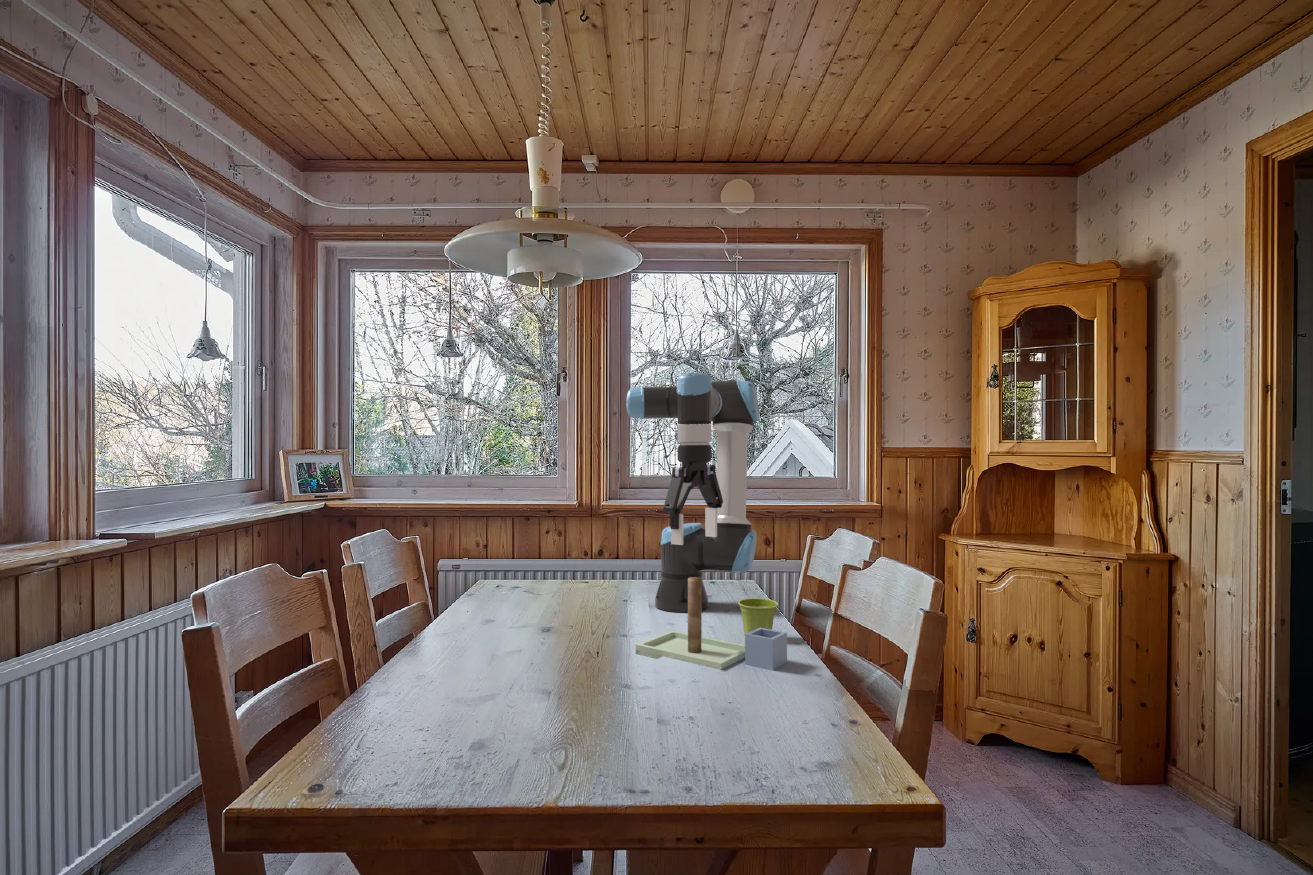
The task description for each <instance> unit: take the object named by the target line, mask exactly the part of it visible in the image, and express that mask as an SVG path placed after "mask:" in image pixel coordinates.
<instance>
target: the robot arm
mask: <svg viewBox="0 0 1313 875" xmlns="http://www.w3.org/2000/svg"><path fill="white" fill-rule="evenodd" d="M756 390H757V389H756V388H755V385H754V383H753V382H752V381H749V380H738V379H737V380H720V381H719V380H716V381H715V380H714V381H712V377H711V375H710V374H708V373H701V372H700V373H682V374H680V375H679V376H678V377H677V386H645V387H644V386H639V387H631V388H629V390H628V391H627V394H626V401H625V402H626V412H627V414H628V416H629V417H630V418H632V419H641V420H645V419H650V420H651V419H677V442H678V443H679V444H680V445H678V446H677V447H676V448H677V449H676V450H677V451H676V452H677V453H676V454H677V461H678V462H680V463H681V466H673V467H672V469H671V479H670V483H669V486H668V489H667V494H666V497H665V500H664V504H663V511H664V512H665V513H666V514H669V517H670V518H669V519H670V520H669V522H670V524H669V525H668V526H666V527H665V528H663V529H662V531H661V541H660V554H661V555H660V561H661V563H660V564H661V565H660V567H661V568H660V574H661V575H660V582H659V585H658V587H657V592H656V595H655V598H654V606H655V607H656V609H659V610H661V611H666V612H674V613H688V578H689V577H699V578H701V611H703V610H707V608H709V596H708V594H707V590H706V587H705V584H704V581H703V571H711V572H724V573H725V572H730V573H745V572H746V573H747V572H748V571H750V570H751V568H752V567H753V563H754V561H755V560H754V559H755V554H756V549H757V548H756V547H757V542H758V541H757V539H758V538H757V537H758V534H757V531H756V530H755V529H752V523H751V521H749V519H748V518H747V479H748V478H747V476H748V438H749V437H748V436H749V435H748V434H749V433H750V432H751V430H753V428H754V422H755V423H756V422H759V420H760V408H759V400H758V395H757V391H756ZM712 428H713V429H714V430H715V431H716V433H717V438H716V439H717V440H716V442H717V443H716V444H717V445H716V446H717V447H716V465H715V464H708V463H709V462H712V456H713V454H712V452H713V451H712V449H713V448H712V446H711V444H710V443H712V441H713V440H712V437H713V436H712V434H713V433H712ZM696 487H697V488H698V489H699V491H700V493H701V495H702V499H703V500H704V501H705V504H706V505H707V507H704V508H705V509H704V512H705V514H704V517H705V519H704V521H705V522H704V523H705V526H704V527H703V524H702V523H701V522H688V523H684V513H682V511H683V508H684V507H685V506H684V505H685V504H686V502H687V499H688V496H689V495H690V492H691V490H693V489H694V488H696Z"/></svg>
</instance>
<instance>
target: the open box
mask: <svg viewBox="0 0 1313 875" xmlns="http://www.w3.org/2000/svg"><path fill="white" fill-rule="evenodd" d="M744 645H745V658H744V664H745V666H750V667H755V668H759V669H763V670H769V671H772V672H773V671H775V670H777V669H779V668H780V667H781V666H783V665H785V664H787V663H788V632H786V631H782V630H781V631H780V630H776V629H772V630H770V629H765V628H758V629H756V630H753V631H751V632H749V633H747V634H745V635H744Z"/></svg>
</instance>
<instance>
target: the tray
mask: <svg viewBox="0 0 1313 875" xmlns="http://www.w3.org/2000/svg"><path fill="white" fill-rule="evenodd" d="M635 654H636V655H640V656H645V657H649V658H654V659H657V660H658V659H661V658H664V657H665V658H667V659H668V658H669V659H671V660H677V661H681V662H686V663H690V664H693V665H694V664H695V665H699V666H703V667H707V668H712V669H716V670H724V669H725V668H727V667H729V666H731V665H733V664H735V663H737V662H739V661H742V660H743V659H745V644H742V643H736V642H731V641H727V640H726V641H725V640H721V639H717V638H711V637H707V636H702V651H701V652H700V653H690V652H688V632H682V631H676V630H669V631H667V632H664V633H661V634H660V635H656V636H654V637H652V638H649V639H646V640H644V641H642V642H638V643H637V644H635Z"/></svg>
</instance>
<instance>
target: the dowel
mask: <svg viewBox="0 0 1313 875" xmlns="http://www.w3.org/2000/svg"><path fill="white" fill-rule="evenodd" d="M687 634H688V652H690V653H700V652H701V651H702V637H703V636H702V635H703V633H702V610H701V578H699V577H689V578H688V612H687Z"/></svg>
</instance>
